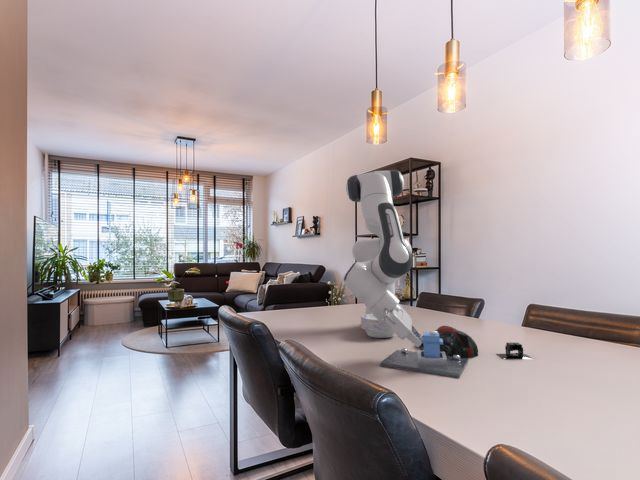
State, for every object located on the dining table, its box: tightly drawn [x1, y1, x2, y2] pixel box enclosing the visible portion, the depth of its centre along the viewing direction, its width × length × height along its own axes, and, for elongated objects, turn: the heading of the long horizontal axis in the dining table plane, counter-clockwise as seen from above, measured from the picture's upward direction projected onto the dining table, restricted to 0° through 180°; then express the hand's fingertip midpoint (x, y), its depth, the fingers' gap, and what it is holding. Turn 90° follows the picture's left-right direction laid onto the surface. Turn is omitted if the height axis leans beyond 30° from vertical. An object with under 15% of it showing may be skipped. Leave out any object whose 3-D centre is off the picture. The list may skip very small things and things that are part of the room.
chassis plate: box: [379, 347, 470, 378], centre depth 111 cm, size 16×22×3 cm
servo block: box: [420, 330, 443, 358], centre depth 110 cm, size 4×6×9 cm
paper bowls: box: [360, 314, 396, 339], centre depth 149 cm, size 15×15×8 cm
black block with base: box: [495, 342, 534, 360], centre depth 118 cm, size 12×7×5 cm, turn 86°
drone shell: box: [419, 325, 479, 359], centre depth 128 cm, size 21×20×8 cm
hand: (419, 340), depth 111 cm, fingers open, 8 cm apart
